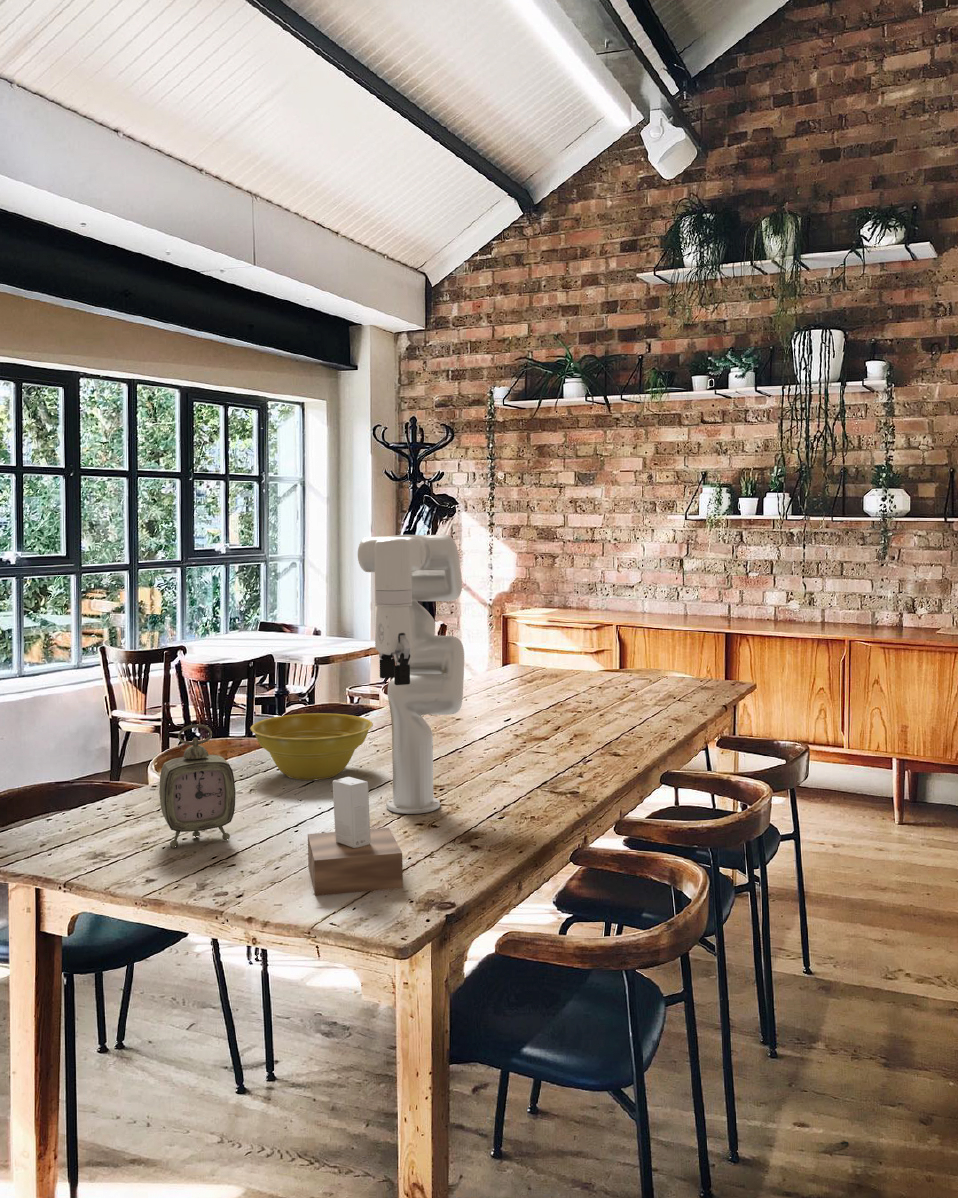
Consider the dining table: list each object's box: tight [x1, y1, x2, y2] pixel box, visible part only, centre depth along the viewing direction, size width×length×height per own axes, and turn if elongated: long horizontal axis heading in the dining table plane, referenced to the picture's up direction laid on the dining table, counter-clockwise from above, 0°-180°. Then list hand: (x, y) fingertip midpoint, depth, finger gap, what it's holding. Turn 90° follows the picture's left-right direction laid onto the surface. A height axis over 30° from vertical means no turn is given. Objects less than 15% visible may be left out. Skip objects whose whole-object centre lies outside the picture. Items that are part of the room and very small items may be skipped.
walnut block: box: [307, 827, 404, 897], centre depth 193 cm, size 16×16×7 cm
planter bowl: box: [249, 712, 374, 781], centre depth 271 cm, size 32×32×13 cm
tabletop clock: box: [158, 724, 237, 848], centre depth 215 cm, size 14×9×25 cm, turn 115°
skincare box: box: [332, 776, 371, 848], centre depth 192 cm, size 6×4×12 cm
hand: (394, 681), depth 210 cm, fingers open, 9 cm apart
